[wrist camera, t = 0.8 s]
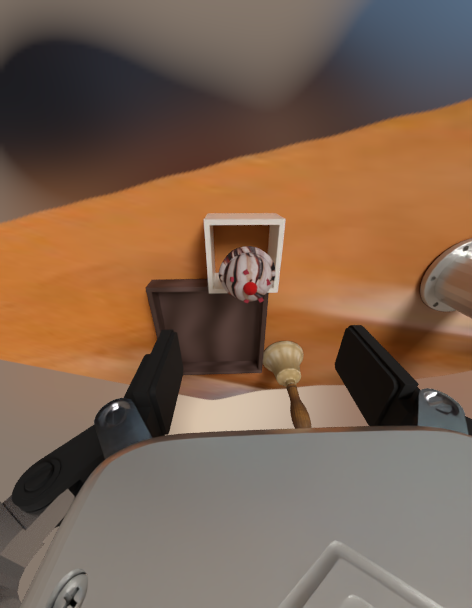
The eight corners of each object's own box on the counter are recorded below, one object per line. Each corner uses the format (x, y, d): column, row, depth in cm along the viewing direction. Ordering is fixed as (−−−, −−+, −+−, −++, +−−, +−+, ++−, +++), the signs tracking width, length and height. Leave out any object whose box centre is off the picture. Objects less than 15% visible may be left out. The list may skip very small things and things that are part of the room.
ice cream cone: (214, 239, 30) (204, 280, 17) (249, 218, 29) (266, 244, 16) (234, 272, 33) (238, 328, 20) (267, 253, 32) (294, 301, 19)
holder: (275, 213, 29) (285, 219, 24) (269, 275, 33) (277, 292, 28) (208, 213, 29) (203, 219, 23) (211, 276, 33) (208, 293, 28)
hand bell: (279, 377, 45) (302, 463, 31) (253, 357, 42) (266, 442, 28) (311, 356, 42) (352, 439, 28) (286, 333, 39) (318, 413, 25)
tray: (265, 278, 34) (269, 285, 31) (259, 361, 42) (261, 372, 40) (152, 279, 33) (145, 287, 30) (169, 363, 42) (165, 375, 39)
